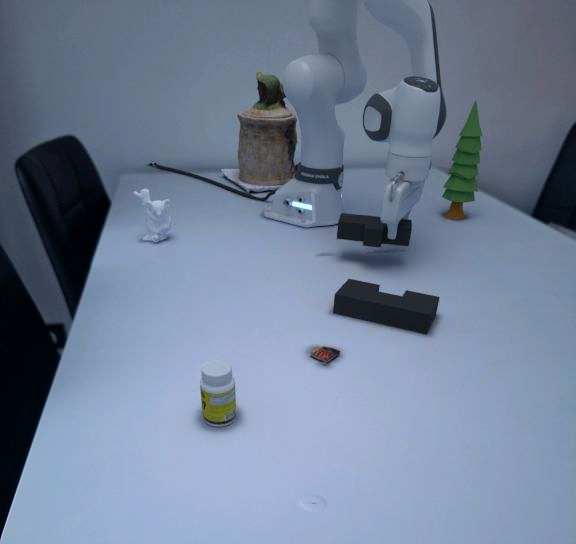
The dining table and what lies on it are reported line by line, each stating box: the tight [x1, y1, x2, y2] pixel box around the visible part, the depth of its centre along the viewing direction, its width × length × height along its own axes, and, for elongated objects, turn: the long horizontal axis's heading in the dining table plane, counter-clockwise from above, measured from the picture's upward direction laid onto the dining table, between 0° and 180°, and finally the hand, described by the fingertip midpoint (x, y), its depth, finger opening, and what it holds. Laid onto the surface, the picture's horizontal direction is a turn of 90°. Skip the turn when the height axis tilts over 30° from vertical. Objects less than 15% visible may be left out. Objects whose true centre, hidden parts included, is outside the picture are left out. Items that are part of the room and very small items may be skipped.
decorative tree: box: [441, 99, 483, 221], centre depth 144 cm, size 10×9×30 cm
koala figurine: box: [133, 188, 173, 243], centre depth 128 cm, size 8×7×12 cm
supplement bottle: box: [199, 359, 238, 428], centre depth 72 cm, size 5×5×8 cm
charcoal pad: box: [332, 278, 441, 335], centre depth 100 cm, size 18×8×4 cm, turn 65°
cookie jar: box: [221, 70, 298, 194], centre depth 170 cm, size 25×25×32 cm
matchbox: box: [309, 345, 341, 366], centre depth 88 cm, size 5×5×1 cm
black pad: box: [336, 212, 413, 249], centre depth 118 cm, size 16×8×4 cm, turn 80°
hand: (397, 232), depth 119 cm, fingers closed on black pad, 6 cm apart
